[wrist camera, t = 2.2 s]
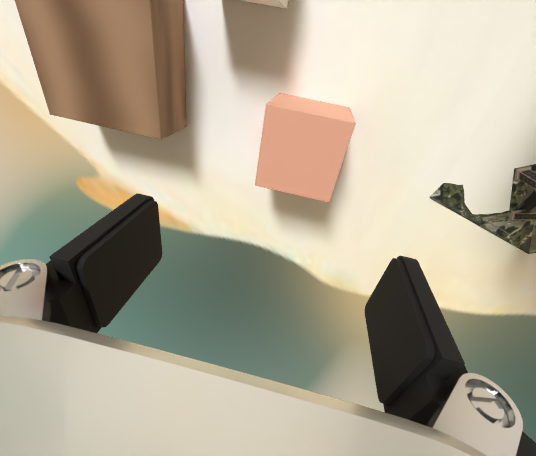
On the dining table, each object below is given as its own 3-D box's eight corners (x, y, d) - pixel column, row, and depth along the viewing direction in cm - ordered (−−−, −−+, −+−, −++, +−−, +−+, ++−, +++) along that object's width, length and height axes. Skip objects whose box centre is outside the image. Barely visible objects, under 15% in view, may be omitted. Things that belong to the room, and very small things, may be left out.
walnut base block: (184, -10, 20) (147, -26, 16) (187, 125, 26) (161, 139, 22) (63, -33, 21) (-2, -53, 16) (93, 104, 26) (50, 114, 22)
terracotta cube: (349, 107, 22) (355, 123, 17) (329, 173, 25) (328, 202, 20) (279, 92, 22) (266, 104, 17) (269, 159, 26) (254, 185, 21)
